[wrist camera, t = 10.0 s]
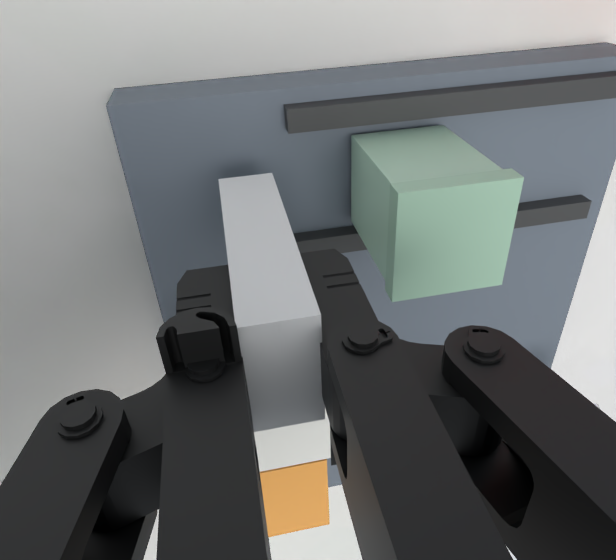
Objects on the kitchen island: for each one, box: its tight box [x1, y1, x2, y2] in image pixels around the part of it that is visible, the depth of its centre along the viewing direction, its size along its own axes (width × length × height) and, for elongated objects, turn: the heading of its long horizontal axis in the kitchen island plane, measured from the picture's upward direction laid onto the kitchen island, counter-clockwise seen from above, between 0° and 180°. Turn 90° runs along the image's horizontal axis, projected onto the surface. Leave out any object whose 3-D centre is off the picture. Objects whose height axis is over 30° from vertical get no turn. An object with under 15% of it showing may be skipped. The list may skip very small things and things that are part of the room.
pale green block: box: [351, 125, 524, 302], centre depth 15 cm, size 3×3×5 cm
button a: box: [260, 459, 329, 537], centre depth 21 cm, size 4×4×3 cm
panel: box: [106, 43, 616, 487], centre depth 21 cm, size 17×20×4 cm
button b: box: [254, 408, 331, 472], centre depth 17 cm, size 4×4×3 cm
